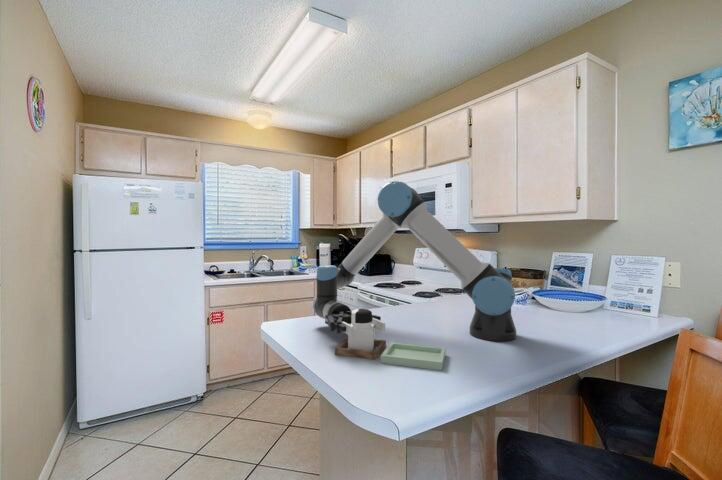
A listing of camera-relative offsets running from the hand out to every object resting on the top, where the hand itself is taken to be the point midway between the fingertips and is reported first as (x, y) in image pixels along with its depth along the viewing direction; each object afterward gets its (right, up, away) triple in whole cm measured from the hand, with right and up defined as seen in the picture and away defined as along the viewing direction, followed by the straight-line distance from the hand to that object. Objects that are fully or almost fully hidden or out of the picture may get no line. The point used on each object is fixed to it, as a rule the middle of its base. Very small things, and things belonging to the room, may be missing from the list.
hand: (368, 329), depth 99 cm
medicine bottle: (-2, -7, +4) cm, 9 cm away
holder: (-2, -7, +4) cm, 8 cm away
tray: (+13, -7, -3) cm, 15 cm away
